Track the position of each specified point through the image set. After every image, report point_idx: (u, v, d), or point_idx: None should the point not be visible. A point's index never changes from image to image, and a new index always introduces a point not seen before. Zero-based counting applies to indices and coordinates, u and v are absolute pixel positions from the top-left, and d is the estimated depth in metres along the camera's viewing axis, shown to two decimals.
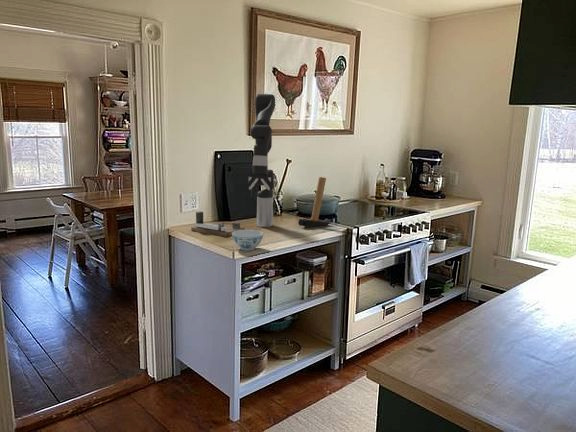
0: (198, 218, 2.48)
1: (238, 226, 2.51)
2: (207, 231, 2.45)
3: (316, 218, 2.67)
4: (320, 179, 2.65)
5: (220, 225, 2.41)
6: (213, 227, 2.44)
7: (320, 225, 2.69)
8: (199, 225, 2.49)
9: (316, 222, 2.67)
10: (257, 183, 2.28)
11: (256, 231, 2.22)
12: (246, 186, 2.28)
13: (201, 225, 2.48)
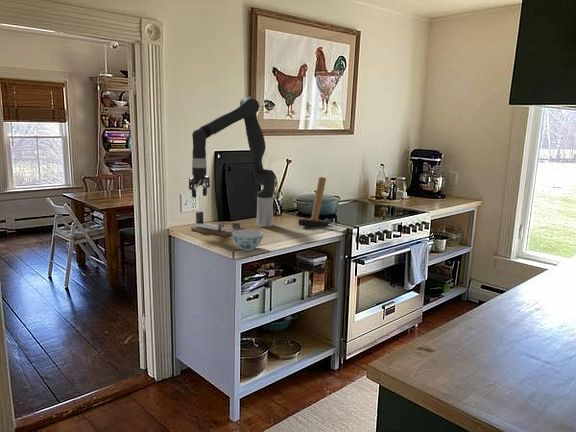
0: (198, 218, 2.48)
1: (238, 226, 2.51)
2: (207, 231, 2.45)
3: (316, 218, 2.67)
4: (320, 179, 2.65)
5: (220, 225, 2.41)
6: (213, 227, 2.44)
7: (320, 225, 2.69)
8: (199, 225, 2.49)
9: (316, 222, 2.67)
10: None
11: (256, 231, 2.22)
12: None
13: (201, 225, 2.48)
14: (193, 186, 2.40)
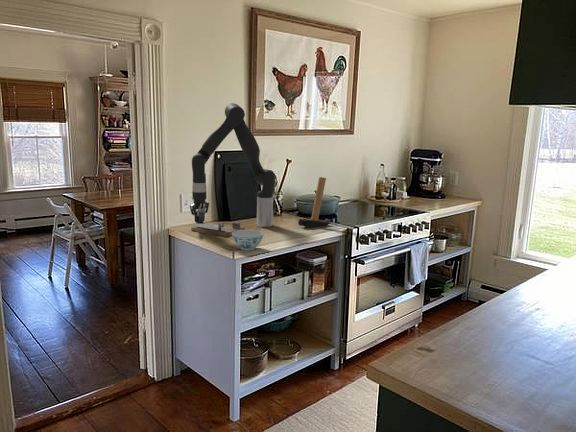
0: None
1: (238, 226, 2.51)
2: (207, 231, 2.45)
3: (316, 218, 2.67)
4: (320, 179, 2.65)
5: (220, 225, 2.41)
6: (213, 227, 2.44)
7: (320, 225, 2.69)
8: (199, 225, 2.49)
9: (316, 222, 2.67)
10: None
11: (256, 231, 2.22)
12: None
13: (201, 225, 2.48)
14: (195, 212, 2.45)
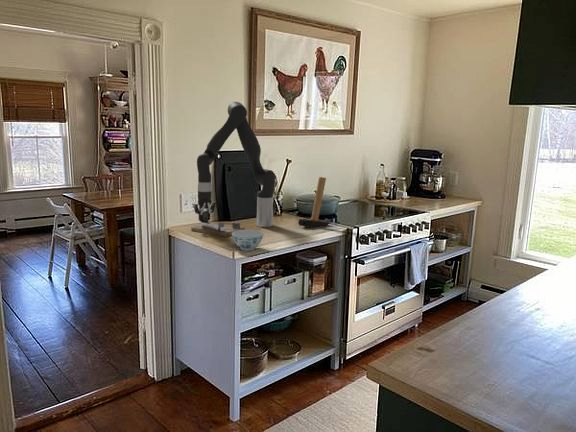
0: None
1: (238, 226, 2.51)
2: (207, 231, 2.45)
3: (316, 218, 2.67)
4: (320, 179, 2.65)
5: (219, 225, 2.41)
6: (214, 227, 2.45)
7: (320, 225, 2.69)
8: (203, 224, 2.52)
9: (316, 222, 2.67)
10: None
11: (256, 231, 2.22)
12: None
13: (205, 224, 2.51)
14: (198, 210, 2.48)
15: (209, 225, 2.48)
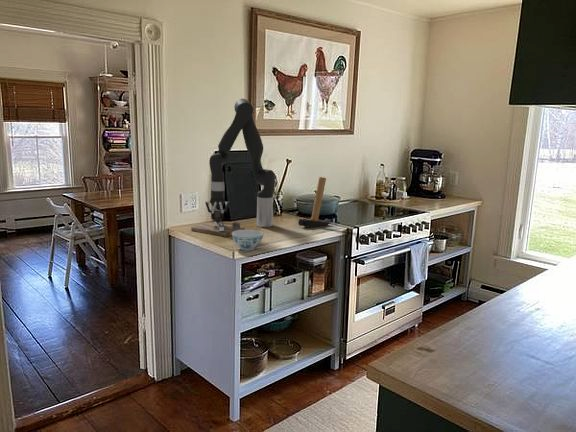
0: (214, 216, 2.55)
1: (238, 226, 2.51)
2: (207, 231, 2.45)
3: (316, 218, 2.67)
4: (320, 179, 2.65)
5: (218, 225, 2.42)
6: (217, 226, 2.47)
7: (320, 225, 2.69)
8: (215, 222, 2.56)
9: (316, 222, 2.67)
10: None
11: (256, 231, 2.22)
12: None
13: (215, 223, 2.55)
14: (209, 209, 2.54)
15: (216, 224, 2.51)
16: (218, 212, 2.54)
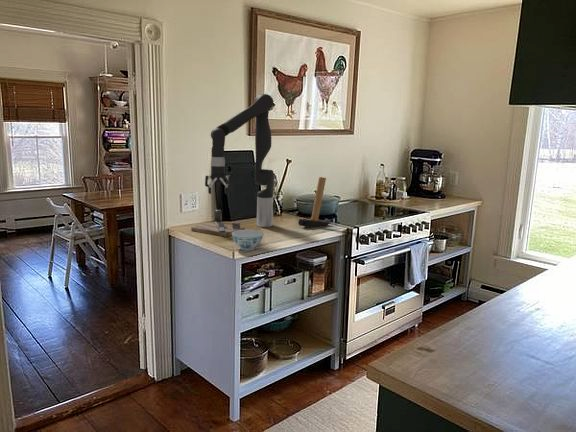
0: (214, 216, 2.55)
1: (238, 226, 2.51)
2: (207, 231, 2.45)
3: (316, 218, 2.67)
4: (320, 179, 2.65)
5: (218, 225, 2.42)
6: None
7: (320, 225, 2.69)
8: (215, 222, 2.56)
9: (316, 222, 2.67)
10: None
11: (256, 231, 2.22)
12: None
13: (216, 223, 2.55)
14: (207, 183, 2.51)
15: (217, 224, 2.51)
16: (219, 212, 2.54)
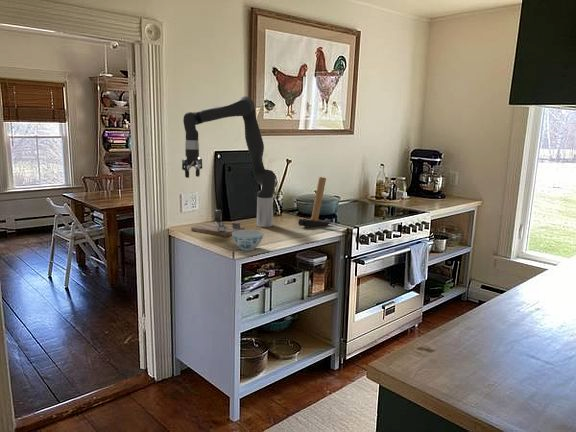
0: (214, 216, 2.55)
1: (238, 226, 2.51)
2: (207, 231, 2.45)
3: (316, 218, 2.67)
4: (320, 179, 2.65)
5: (218, 225, 2.42)
6: None
7: (320, 225, 2.69)
8: (215, 222, 2.56)
9: (316, 222, 2.67)
10: None
11: (256, 231, 2.22)
12: None
13: (216, 223, 2.55)
14: (186, 167, 2.53)
15: (217, 224, 2.51)
16: (219, 212, 2.54)
